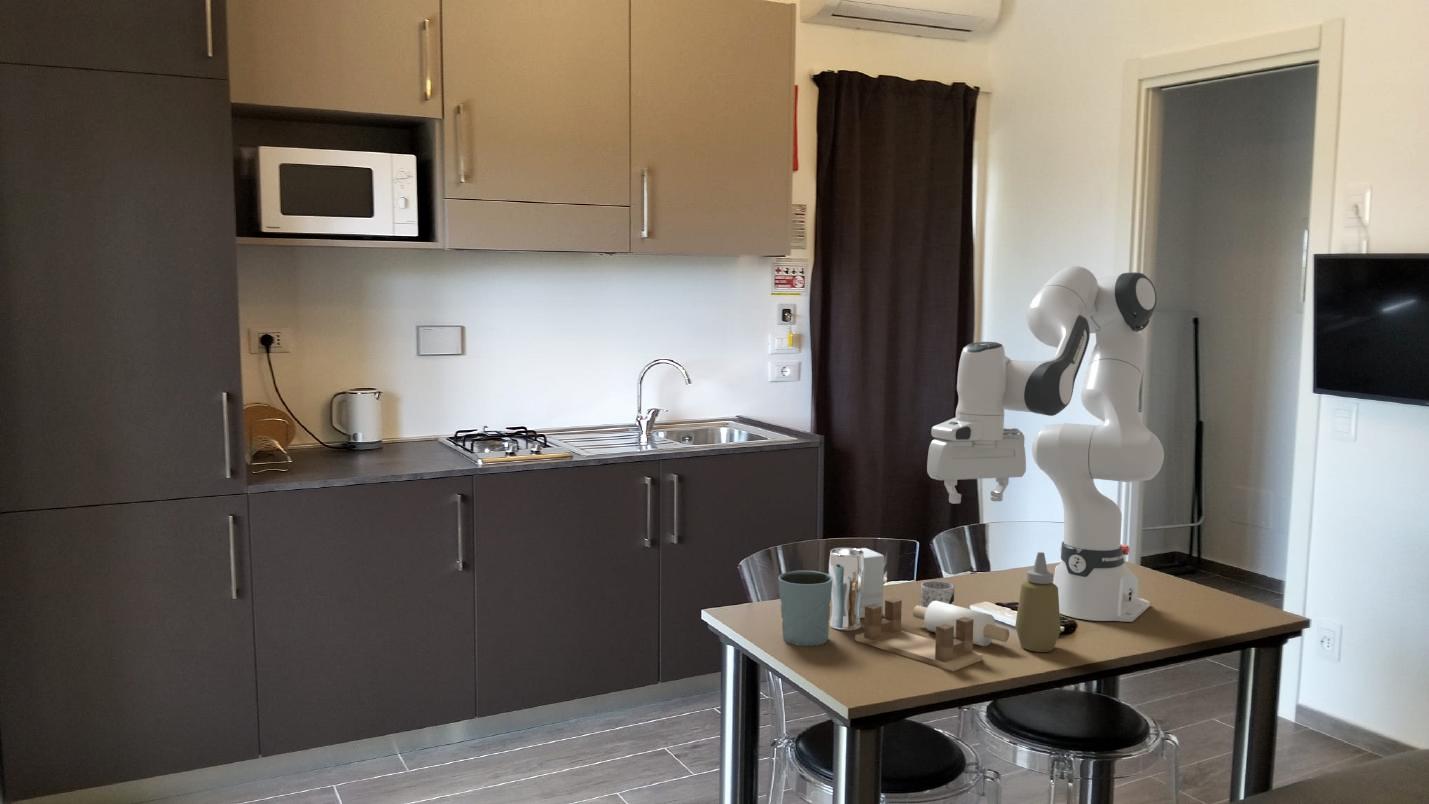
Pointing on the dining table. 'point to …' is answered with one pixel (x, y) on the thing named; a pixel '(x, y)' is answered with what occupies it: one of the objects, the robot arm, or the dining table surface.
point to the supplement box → (872, 580)
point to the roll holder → (919, 638)
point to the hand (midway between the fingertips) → (975, 502)
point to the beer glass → (846, 587)
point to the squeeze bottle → (1038, 609)
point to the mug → (936, 592)
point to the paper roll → (949, 613)
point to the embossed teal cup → (805, 606)
